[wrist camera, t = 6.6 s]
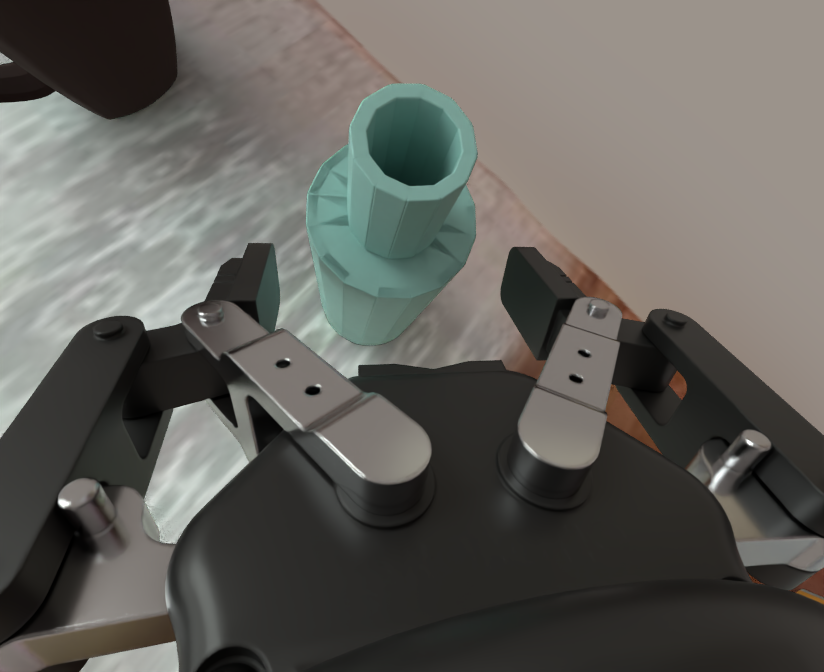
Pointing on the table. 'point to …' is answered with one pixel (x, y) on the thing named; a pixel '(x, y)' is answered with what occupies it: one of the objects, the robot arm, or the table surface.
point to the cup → (88, 52)
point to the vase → (392, 212)
